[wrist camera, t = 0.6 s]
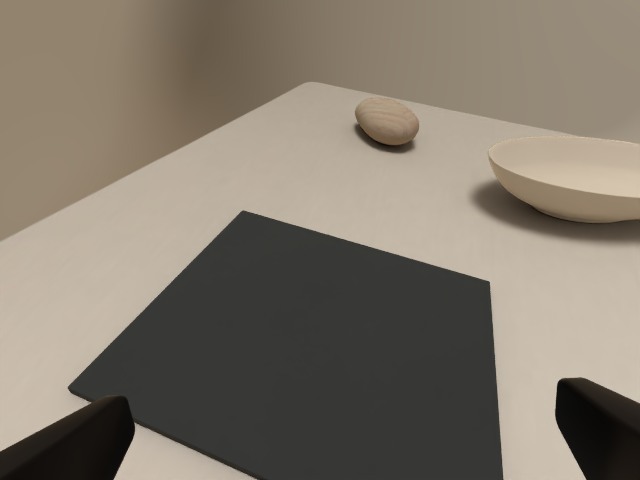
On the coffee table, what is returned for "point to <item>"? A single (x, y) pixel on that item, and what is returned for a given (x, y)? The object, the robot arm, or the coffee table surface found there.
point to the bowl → (572, 176)
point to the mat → (313, 361)
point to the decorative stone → (387, 121)
